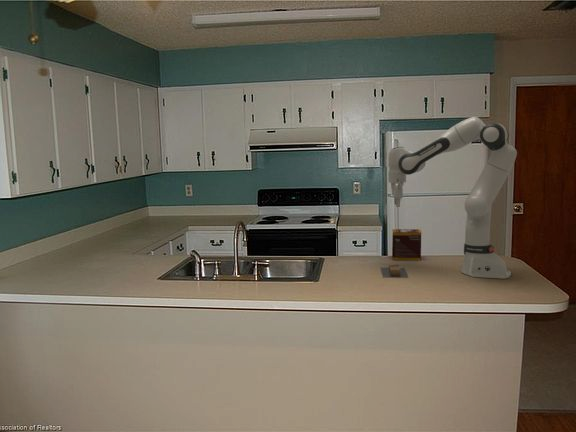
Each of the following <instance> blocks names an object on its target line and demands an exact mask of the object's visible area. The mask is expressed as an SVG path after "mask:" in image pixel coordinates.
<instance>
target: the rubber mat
mask: <svg viewBox="0 0 576 432" xmlns="http://www.w3.org/2000/svg"><path fill="white" fill-rule="evenodd" d="M380 271H381V275H382V276H381V277H382V279H383V278H384V279H385V278H386V279H387V278H388V279H389V278H391V279H394V278H395V279H397V278H398V279H409V276H408V275H409V274H408V273H407V271H406V268H405V267H400V277H391V276H390V273H389V266H387V267H385V266H384V267H380Z"/></svg>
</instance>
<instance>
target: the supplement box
mask: <svg viewBox="0 0 576 432" xmlns="http://www.w3.org/2000/svg"><path fill="white" fill-rule="evenodd" d="M391 243H392V244H391V261H408V260H412V261H414V262H418V261H419V262H420V261H421V260H422V231H421V229H420V228H419V229H418V228H417V229H411V228H410V229H409V228H406V229H405V228H404V229H402V228H397V229H396V228H393V229H392V242H391Z"/></svg>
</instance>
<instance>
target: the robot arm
mask: <svg viewBox="0 0 576 432" xmlns="http://www.w3.org/2000/svg"><path fill="white" fill-rule="evenodd" d="M508 139H509V131H508V129H507V128H506V127H505V126H504V125H502V124H501V123H497V122H490V123H487V124H485V123H484V121H483V120H482V118H480V117H478V116H471V117H469V118H466V119H463V120H462V121H460V122H458V123H456V124H454V125H452V126H451V127H450V128H449V129H446V131H445V132H444V133H442V134H441V135H440V136H439V137H437V138H436V139H434V141H432V142H431V143H430V144H429V143H428V144H427V145H426V146H424V147H422V148H420V149H418V150H417V151H415V152H414V151H412V150H409V149H407V148H406V147H404V146H397V147H393V148H391V149H390V150H389V153H388V168H389V170H388V173H387V174H388V183H389V184H390V189H391V195H392V196H393V200H394V202H393V204H394V205H395V206H396V208H399V207H400V206H401V199H403V197H404V196H403V186H404V184H405V183H406V182H407V176H409V175H412V174H415V173H419V172H421V171H422V170H423V169H424V168H425V166H426V162H427V161H429V160H431V159H433V158H434V157H436V156H438V155H442V154H444V153H448V152H449V153H450V152H454V151H457V150H460V149H462V148H464V147H466V146H467V145H470V144H471V143H472V142H475V141H476V140H480V141H481V142H482V143H483V144H484V146H486V147H487V148H488V149H489V150H490V151H491V153H490V156H489V158H488V160H487V162H486V163H485V165H484V167H483V168H482V171H481V173H480V175H479V177H478V178H477V180H476V181H475V183H474V185H473V187H472V188H471V190H470V192H469V194H468V195H467V198H466V199H465V202H464V210H465V211H466V221H465V222H466V223H465V239H464V241H465V243H463V256H464V257H463V263H462V267H461V270H460V272H461V273H462V274H464V275H467V276H469V277H471V278H472V277H473V278H487V279H488V278H489V279H504V280H505V279H508V278H510V277H511V276H512V272H511V270H508V269H507V266H506V262H505V260H504V259H502V258H501V257H500V256H499V255H498V254H496V253H495V246H494V245H492V244H491V243H490V241H491V240H490V239H491V223H492V222H491V219H492V205H493V203H494V202H495V199H496V198H497V196H498V195H499V193H500V190H501V189H502V187H503V185H504V184H505V182H506V180H507V178H508V176H509V174H510V173H511V170H512V169H513V166H514V164H515V161H516V158H517V155H518V151H517V149H516V148H515V147H514V146H513V145H511V144H509V143H508V142H507V141H508Z"/></svg>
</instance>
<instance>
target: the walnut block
mask: <svg viewBox="0 0 576 432" xmlns="http://www.w3.org/2000/svg"><path fill="white" fill-rule="evenodd" d="M388 267H389V273H390V276H391V277H400V268H401V266H400V265H399V264H388Z"/></svg>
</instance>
